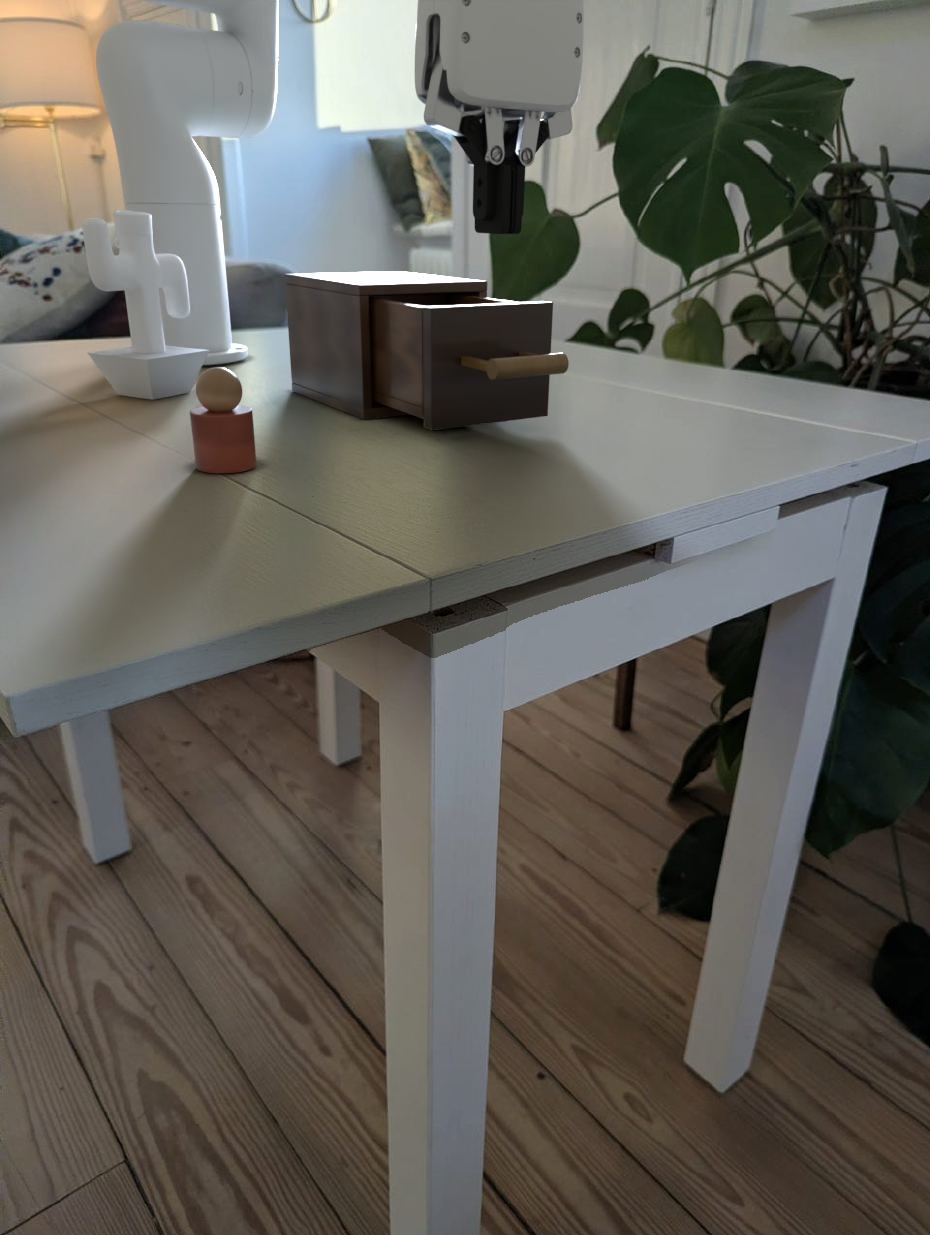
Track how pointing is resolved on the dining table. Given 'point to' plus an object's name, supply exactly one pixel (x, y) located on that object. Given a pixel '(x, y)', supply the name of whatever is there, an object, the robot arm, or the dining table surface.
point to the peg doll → (222, 425)
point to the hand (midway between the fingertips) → (497, 232)
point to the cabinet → (348, 332)
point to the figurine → (141, 308)
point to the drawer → (462, 357)
